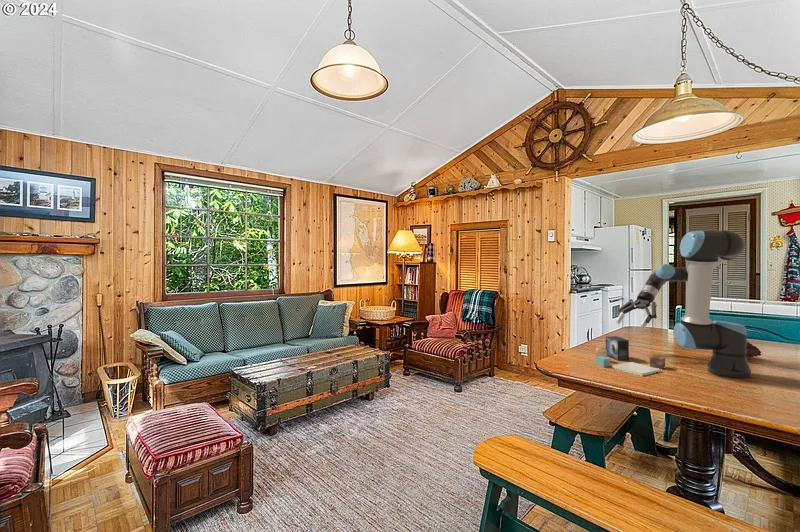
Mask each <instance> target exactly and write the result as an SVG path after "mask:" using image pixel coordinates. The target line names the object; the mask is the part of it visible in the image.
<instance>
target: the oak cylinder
mask: <svg viewBox="0 0 800 532" xmlns="http://www.w3.org/2000/svg"><path fill="white" fill-rule="evenodd" d="M597 356H604V357H607V358H608V356H607V349H606V348H605V347H602V348H601V347H597V348H595V358H596V357H597Z"/></svg>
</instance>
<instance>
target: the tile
mask: <svg viewBox="0 0 800 532" xmlns="http://www.w3.org/2000/svg"><path fill="white" fill-rule="evenodd" d="M611 367H612V369H615V370H618V371H621V370H622V371H621V372H626V373H629V374H632V373H633V375H635V376H639V375H640V376H639V377H644V376H649V375H654V374H657V373H656V372H658V373H661V372H662V370H661V369H658V368H654V367H650V365H646V364H640V363H638V362H633V361H630V362H629V361H628V362H622V363H619V364H614V365H612V366H611ZM653 373H654V374H653Z"/></svg>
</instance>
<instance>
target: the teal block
mask: <svg viewBox="0 0 800 532" xmlns="http://www.w3.org/2000/svg"><path fill="white" fill-rule="evenodd" d="M596 364H597V365H596ZM595 365H596V366H598V367H601V366H602V367H601V368H608V367H609V366H610V367H611V357H608V356H607V357H604V356H597V357H596V356H595Z"/></svg>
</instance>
